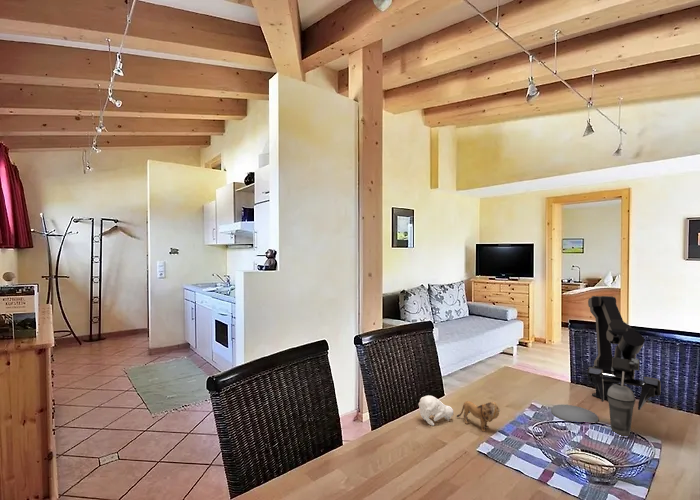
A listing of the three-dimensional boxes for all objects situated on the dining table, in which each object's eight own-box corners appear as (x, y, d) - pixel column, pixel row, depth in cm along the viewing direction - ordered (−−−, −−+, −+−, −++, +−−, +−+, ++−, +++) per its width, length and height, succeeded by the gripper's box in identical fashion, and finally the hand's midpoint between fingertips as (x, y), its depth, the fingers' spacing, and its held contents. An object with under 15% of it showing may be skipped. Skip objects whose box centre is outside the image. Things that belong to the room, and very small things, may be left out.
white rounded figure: (417, 392, 127) (448, 392, 131) (415, 418, 127) (446, 417, 131) (426, 400, 121) (459, 399, 125) (424, 427, 121) (456, 425, 125)
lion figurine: (502, 430, 120) (502, 401, 120) (494, 436, 116) (495, 406, 116) (460, 415, 130) (460, 389, 130) (452, 420, 127) (452, 393, 127)
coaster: (566, 404, 141) (566, 401, 141) (606, 418, 128) (606, 416, 128) (542, 411, 134) (542, 409, 134) (583, 428, 122) (583, 425, 122)
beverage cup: (625, 429, 121) (626, 367, 121) (640, 441, 114) (641, 374, 114) (601, 428, 122) (602, 366, 122) (615, 439, 114) (615, 373, 114)
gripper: (588, 342, 127) (581, 384, 118) (660, 352, 114) (658, 400, 106) (592, 360, 133) (586, 401, 124) (661, 372, 120) (659, 418, 112)
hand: (620, 405), depth 116 cm, fingers open, 9 cm apart
